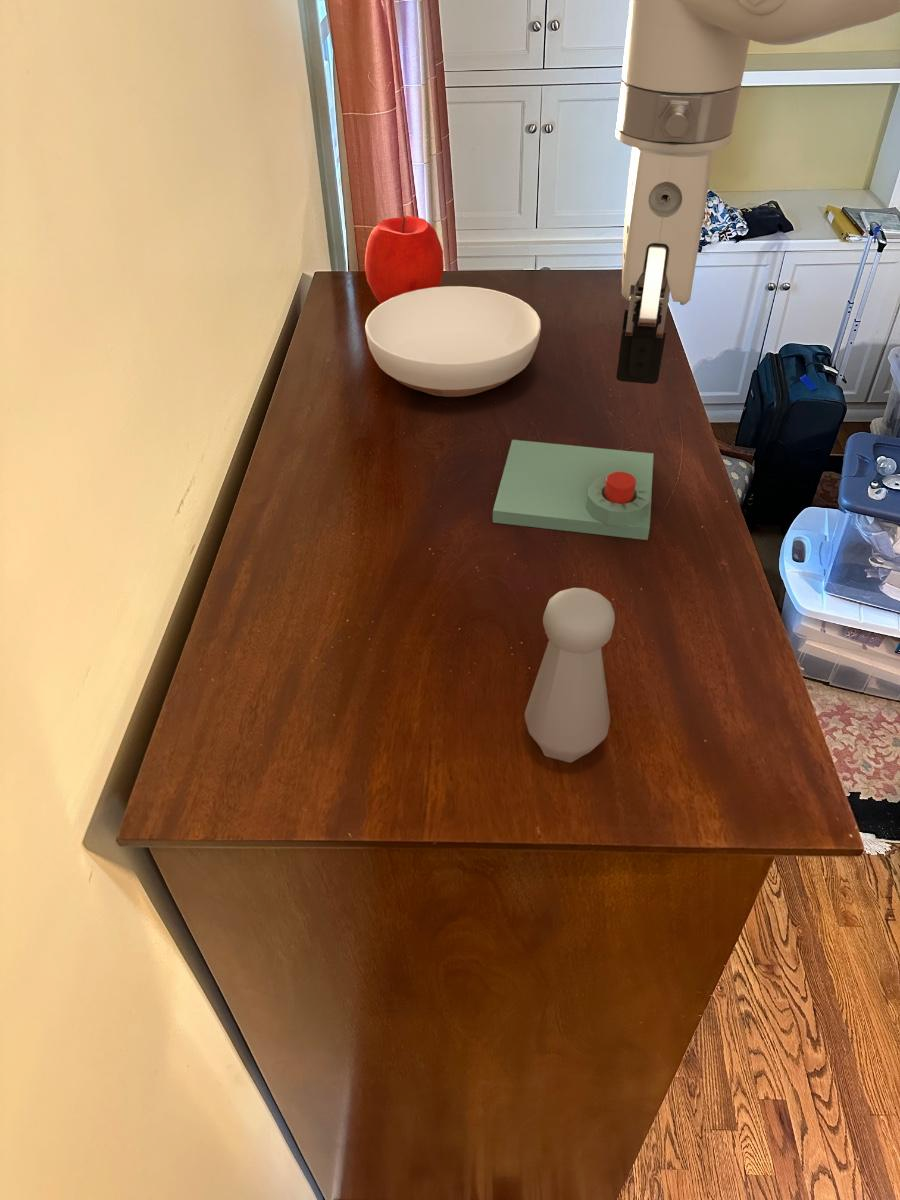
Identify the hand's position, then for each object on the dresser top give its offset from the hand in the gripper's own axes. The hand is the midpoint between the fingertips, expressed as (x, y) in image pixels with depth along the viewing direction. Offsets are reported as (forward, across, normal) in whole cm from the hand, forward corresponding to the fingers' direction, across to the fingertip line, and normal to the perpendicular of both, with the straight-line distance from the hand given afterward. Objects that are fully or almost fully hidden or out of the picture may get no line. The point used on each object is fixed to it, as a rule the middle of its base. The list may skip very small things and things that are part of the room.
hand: (637, 368), depth 69 cm
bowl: (+15, +24, +20) cm, 35 cm away
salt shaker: (+15, -26, +2) cm, 30 cm away
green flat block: (+15, +4, +4) cm, 16 cm away
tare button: (+12, 0, 0) cm, 12 cm away
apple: (+15, +38, +29) cm, 51 cm away
